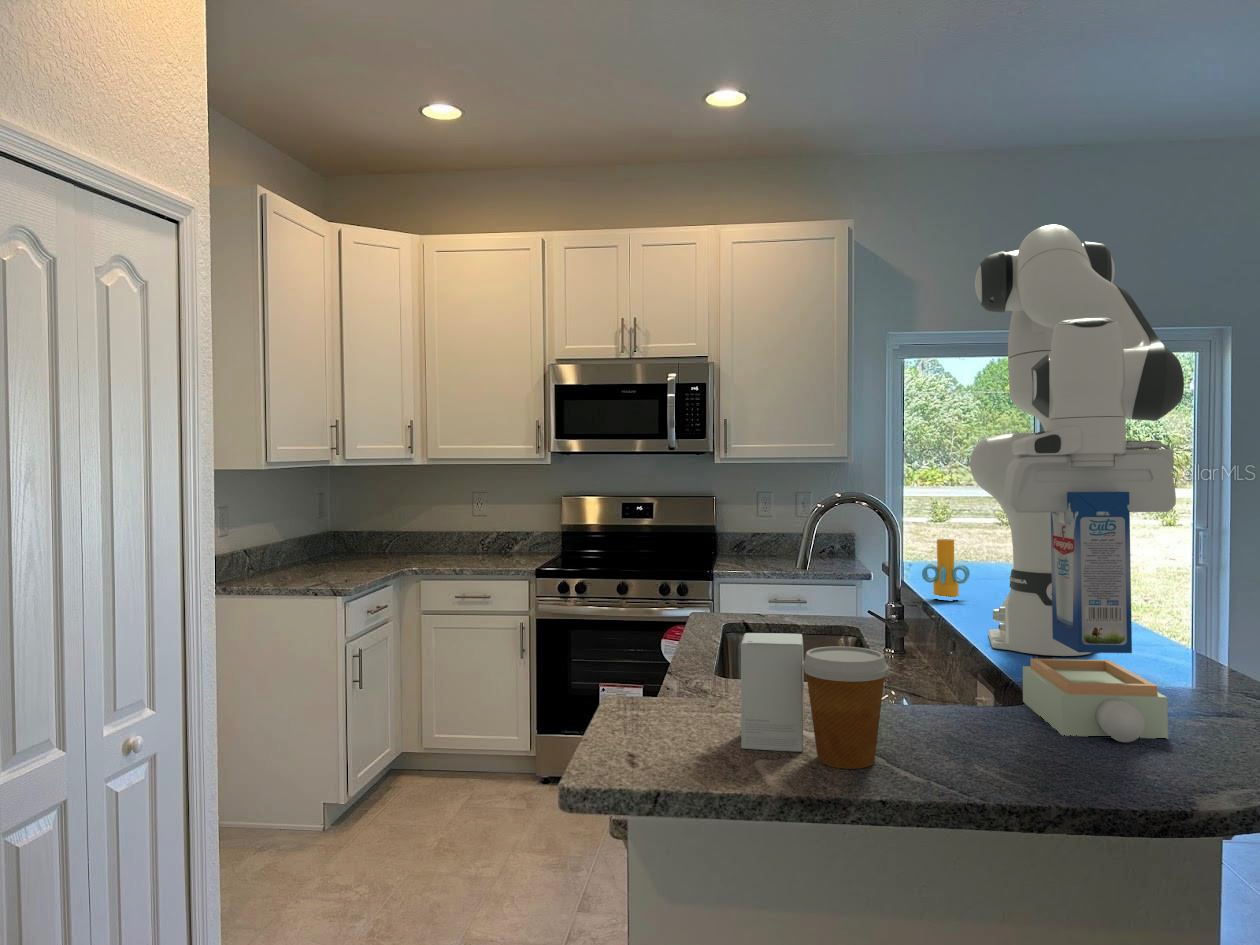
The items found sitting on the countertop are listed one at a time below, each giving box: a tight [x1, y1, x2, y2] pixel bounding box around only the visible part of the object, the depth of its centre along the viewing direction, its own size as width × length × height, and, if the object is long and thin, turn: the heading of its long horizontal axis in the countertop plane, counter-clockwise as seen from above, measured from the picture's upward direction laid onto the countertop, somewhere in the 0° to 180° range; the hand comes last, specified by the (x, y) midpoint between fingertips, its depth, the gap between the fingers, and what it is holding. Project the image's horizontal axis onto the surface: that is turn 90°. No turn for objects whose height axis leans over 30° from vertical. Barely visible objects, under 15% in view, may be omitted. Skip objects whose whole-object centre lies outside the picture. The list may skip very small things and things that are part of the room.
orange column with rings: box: [921, 538, 971, 597], centre depth 221 cm, size 12×10×15 cm
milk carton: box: [1051, 492, 1133, 654], centre depth 115 cm, size 10×6×20 cm, turn 172°
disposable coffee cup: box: [802, 645, 890, 770], centre depth 100 cm, size 10×10×12 cm
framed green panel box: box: [1022, 658, 1169, 743], centre depth 114 cm, size 19×12×6 cm, turn 172°
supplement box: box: [740, 632, 805, 753], centre depth 107 cm, size 7×7×13 cm
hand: (1088, 547), depth 116 cm, fingers closed on milk carton
